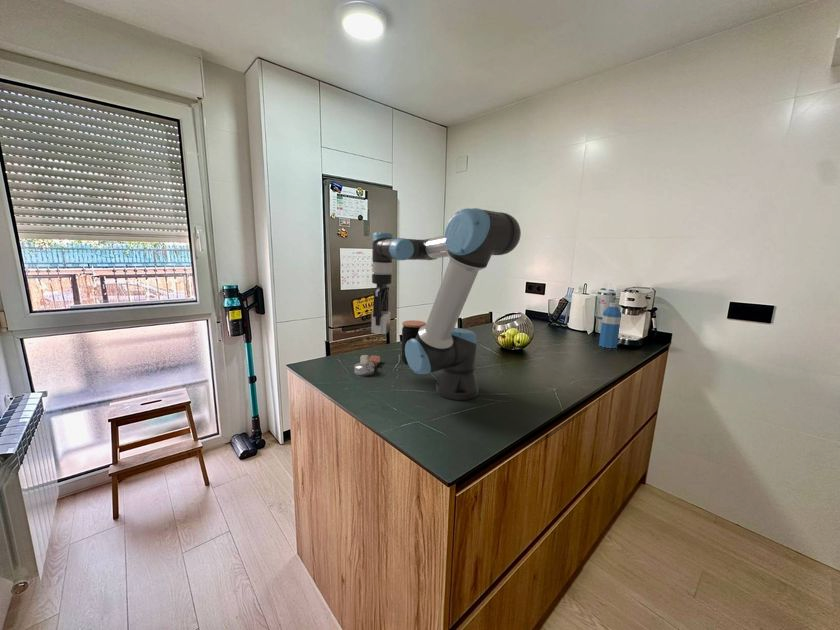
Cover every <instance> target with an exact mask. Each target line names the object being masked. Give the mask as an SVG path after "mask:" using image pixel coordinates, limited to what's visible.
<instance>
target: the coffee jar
mask: <svg viewBox="0 0 840 630" xmlns="http://www.w3.org/2000/svg"><path fill="white" fill-rule="evenodd" d="M426 323H427V322H425V321H421V320H405V321H402V328H401V360H402V362H403V363H404V364H407V365H409V364H408V362H407V359H406V356H405V345H406V343H407V341H408V340H410V339H412V338H413V339H415V338H416V337H417V334H418V331H419V329H420V328H421V327H422V326H425V325H426Z"/></svg>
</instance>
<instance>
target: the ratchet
mask: <svg viewBox="0 0 840 630" xmlns="http://www.w3.org/2000/svg"><path fill="white" fill-rule="evenodd" d="M359 359H360V360H359V361H360V362H358V363H356V364H354V375H356V376H359V377H360V376H361V377H368V376H371V375H373V374H375V368H376V367H377V365H378V364H380V362H381V356H380V355H375V354H373V355H372V354H371V356H369V355H367V354H362V355H361V356H360V358H359Z"/></svg>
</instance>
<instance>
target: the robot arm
mask: <svg viewBox="0 0 840 630" xmlns="http://www.w3.org/2000/svg"><path fill="white" fill-rule="evenodd" d="M521 235H522V233H521V226H520V223H519V222H518V220H517V219H516V218H515V217H514V216H513V215H511V214H508V213H506V212H501V211H493V210H488V209H487V210H486V209H482V208H479V207H478V208H477V207H475V208H469V207H467V208H463V209H462V208H461V209H460V210H459V211H457V212H455V213H454V214H453V215H452V216H451V217H450V219H449V220H448V222H447V225H446V226H445V230H444V235H439V236H435V237H430V238H426V239H414V238H404V237H398V238H396V237H395V238H394V237H393V234H392V233H391V232H381V231H380V232H376V231H375V232H374V233H373V235H372V242H371V244H372V245H371V246H372V249H371V250H372V251H371V253H372V259H371V261H372V263H371V265H370V266H371V267H372V269H371V270H372V275H371V276H372V277H371V283H372V284H374V285H376V287H375V290H373V306H372V307H373V308H372V313H373V317H375V333H374V334H379V333H380V335H381V334H382V317H381V316H382V311H390V310H389V293H390V292H389V291H390V286H389V287H388V286H387V285H391V284H392V278H393V277H392V272H393V261H392V260H397V261H407V260H409V261H410V260H412V261H416V260H417V261H420V260H421V261H425V260H426V261H435V260H437V259H440V258H441V259H442V258H449V262H448V264H447V267H446V268H445V269H446V270H445V272H444V275H443V278H442V280H441V283H440V285H439V287H438V291H437V294H436V296H435V299H434V302H433V305H432V307H431V310H430V313H429V316H428V318H427V320H426V322H425V323H426V325H425V326H422V327H421V328H420V329H419V331H418V334H417V337H416V338H415V339H413V338H412V339H410V340H408V341H407V343H406V345H405V356H406V359H407V362H408V364H407V365H408V366H409V368H410V369H411V370H412V372H414V373H415V374H418V375H424V374H426V375H427V374H428V375H429V374H430V373H434V372H438V371H440V373H439V377H438V378H437V382H436V386H435V391H436V393H437V394H438V396H441V397H443V398H445V399H450V400H454V401H466V400H467V401H468V400H472V399H474V398H476V397H477V396H478V394H479V385H478V381H477V377H476V373H475V369H476V353H477V344H478V343H477V334H476V333H475V332H474V331H472V330H469V329H465V328H460V327H456V325H457V323H458V320H459V318H460V316H461V313H462V311H463V309H464V306H465V303H466V301H467V299H468V296H469V294H470V293H471V290H472V287H473V285H474V283H475V281H476V278H477V276H478V273H479V271H481V270H483V269H486V268H487V267H488V264H489V262H490V260H491V258H492V256H502V255H507V254H509V253H510V252H512V251H513V250H515V248H516V247H517V246H518V244H519V242H520V240H521ZM377 313H378V314H377ZM382 335H383V334H382Z"/></svg>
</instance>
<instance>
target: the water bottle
mask: <svg viewBox="0 0 840 630" xmlns="http://www.w3.org/2000/svg"><path fill="white" fill-rule="evenodd" d="M618 304H619V303H618V302H609V304H608V305H609V306H608V307H607V308H605V309H604V311H603V312H602V313H603V314H602V319H601V320H602V321H601V326H600V334H599V340H598V341H599V343H598V347H599V346H602V347H606V348H616V349H617V348H618V341H619V332H620V326H621V319H622V312H621V310H620V309H619V307H618Z"/></svg>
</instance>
